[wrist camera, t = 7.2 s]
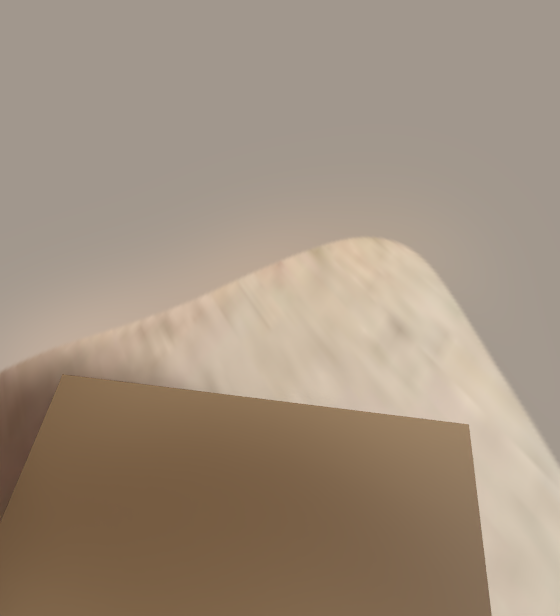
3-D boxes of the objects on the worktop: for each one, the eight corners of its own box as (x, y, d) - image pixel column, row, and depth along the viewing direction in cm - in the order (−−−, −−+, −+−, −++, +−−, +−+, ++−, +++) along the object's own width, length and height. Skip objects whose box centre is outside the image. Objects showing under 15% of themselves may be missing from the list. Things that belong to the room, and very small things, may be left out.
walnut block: (335, 603, 12) (598, 1520, 2) (199, 579, 13) (-272, 1166, 2) (341, 451, 15) (469, 424, 4) (226, 435, 15) (62, 373, 5)
